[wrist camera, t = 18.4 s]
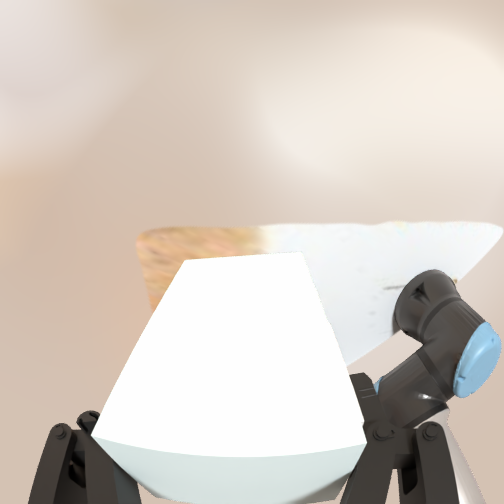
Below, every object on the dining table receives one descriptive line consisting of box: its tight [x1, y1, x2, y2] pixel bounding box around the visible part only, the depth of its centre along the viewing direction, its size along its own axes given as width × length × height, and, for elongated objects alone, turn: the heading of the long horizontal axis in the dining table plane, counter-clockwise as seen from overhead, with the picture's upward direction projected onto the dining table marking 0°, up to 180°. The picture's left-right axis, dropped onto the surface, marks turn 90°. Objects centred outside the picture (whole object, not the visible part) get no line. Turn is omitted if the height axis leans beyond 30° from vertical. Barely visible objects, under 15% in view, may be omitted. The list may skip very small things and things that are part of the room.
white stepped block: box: [91, 252, 367, 504], centre depth 16 cm, size 23×8×14 cm, turn 5°
